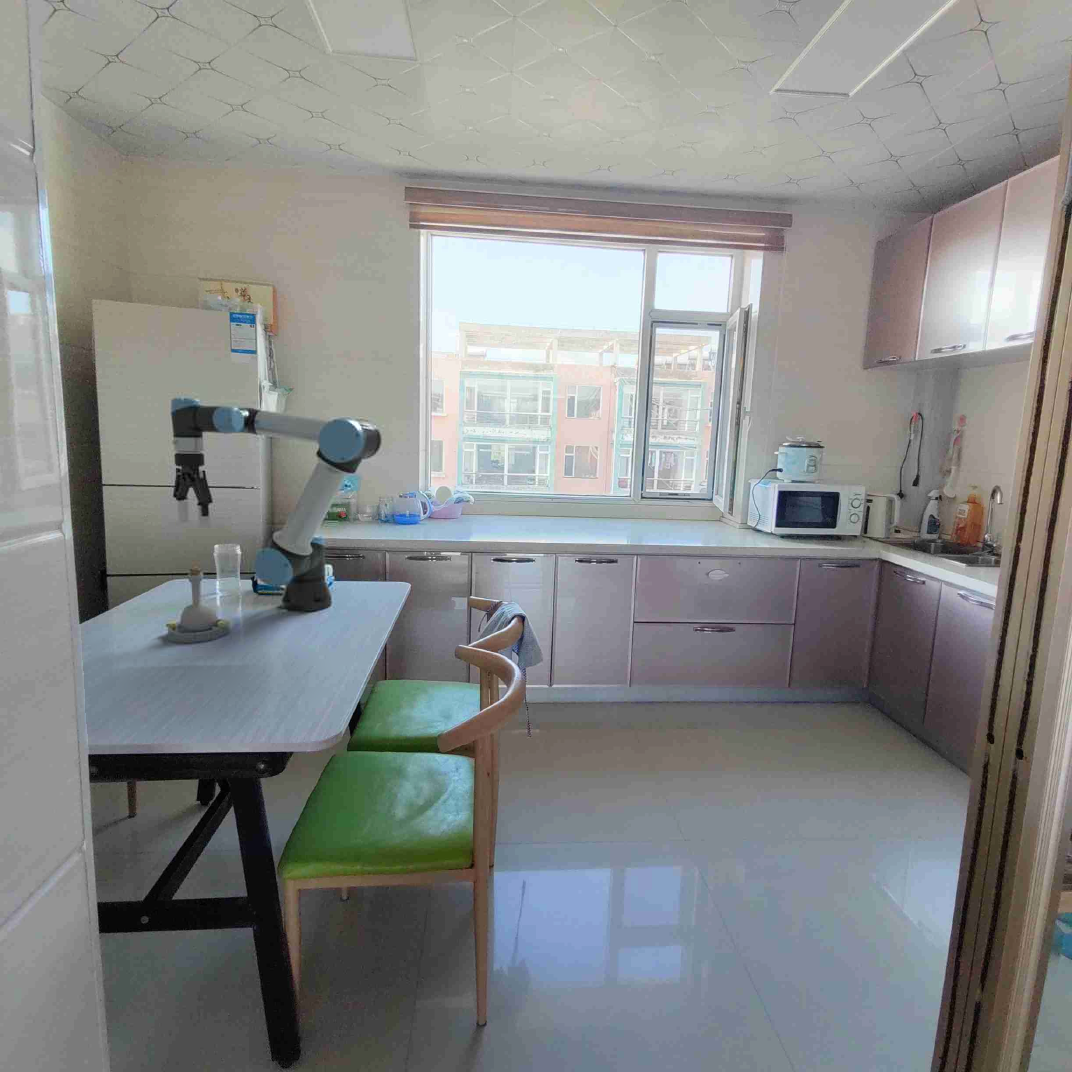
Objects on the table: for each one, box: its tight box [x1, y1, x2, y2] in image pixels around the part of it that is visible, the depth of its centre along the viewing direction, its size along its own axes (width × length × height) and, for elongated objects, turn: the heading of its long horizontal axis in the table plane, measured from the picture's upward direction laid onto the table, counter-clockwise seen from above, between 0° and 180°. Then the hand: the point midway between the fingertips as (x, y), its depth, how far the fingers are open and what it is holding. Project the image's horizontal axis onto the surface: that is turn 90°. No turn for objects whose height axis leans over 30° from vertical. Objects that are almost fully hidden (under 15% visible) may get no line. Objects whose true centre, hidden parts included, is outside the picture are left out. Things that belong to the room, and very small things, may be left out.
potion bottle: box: [179, 565, 218, 633], centre depth 165 cm, size 9×9×18 cm
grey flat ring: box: [165, 617, 230, 644], centre depth 167 cm, size 15×15×3 cm
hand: (194, 524), depth 182 cm, fingers open, 13 cm apart
